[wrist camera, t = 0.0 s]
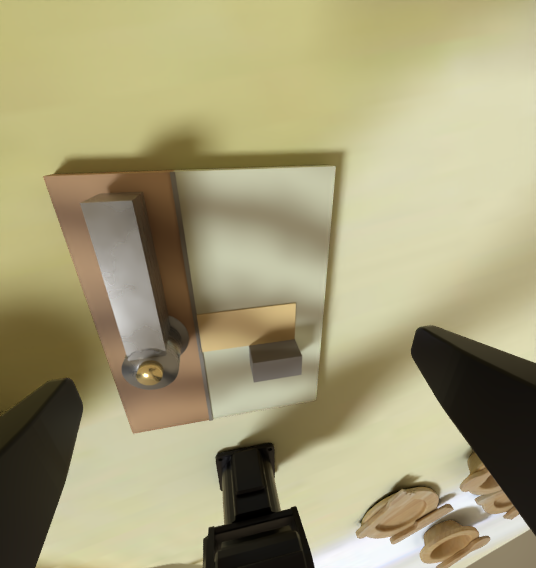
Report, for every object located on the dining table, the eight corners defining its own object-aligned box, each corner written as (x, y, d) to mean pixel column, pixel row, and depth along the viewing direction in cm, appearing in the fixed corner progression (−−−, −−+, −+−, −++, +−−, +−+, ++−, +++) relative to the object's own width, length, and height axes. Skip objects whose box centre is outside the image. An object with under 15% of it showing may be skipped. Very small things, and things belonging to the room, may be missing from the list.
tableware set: (337, 517, 44) (348, 550, 41) (498, 403, 39) (528, 430, 35) (430, 554, 60) (445, 580, 56) (554, 477, 55) (579, 500, 51)
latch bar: (185, 357, 23) (181, 391, 20) (137, 363, 22) (126, 400, 19) (153, 190, 17) (142, 202, 14) (88, 193, 16) (60, 205, 13)
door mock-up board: (312, 391, 30) (324, 419, 27) (135, 422, 27) (126, 458, 24) (328, 165, 20) (351, 169, 17) (53, 174, 17) (19, 180, 14)
